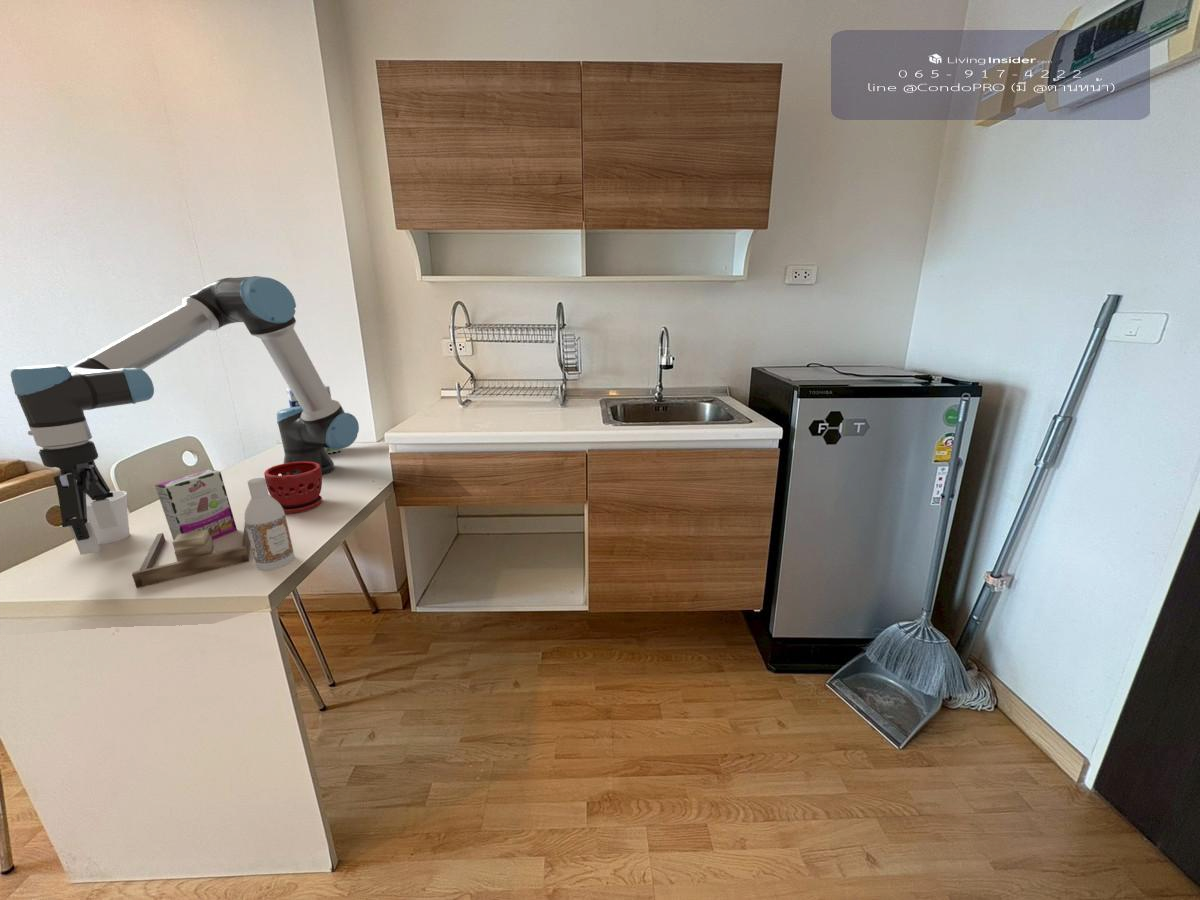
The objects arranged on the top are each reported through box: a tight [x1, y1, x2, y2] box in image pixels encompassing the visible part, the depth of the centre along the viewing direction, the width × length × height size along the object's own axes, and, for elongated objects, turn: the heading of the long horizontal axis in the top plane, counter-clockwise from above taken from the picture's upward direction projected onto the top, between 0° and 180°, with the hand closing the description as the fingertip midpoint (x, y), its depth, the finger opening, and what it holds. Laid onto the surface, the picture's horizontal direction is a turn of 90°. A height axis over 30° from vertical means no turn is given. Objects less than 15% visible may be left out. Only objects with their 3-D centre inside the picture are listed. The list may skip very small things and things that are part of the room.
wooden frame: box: [131, 523, 251, 589], centre depth 106 cm, size 18×24×4 cm
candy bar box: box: [154, 468, 238, 541], centre depth 110 cm, size 11×5×16 cm, turn 159°
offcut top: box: [171, 529, 210, 552], centre depth 100 cm, size 5×4×2 cm
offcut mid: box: [174, 536, 215, 561], centre depth 100 cm, size 6×5×2 cm
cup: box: [86, 490, 131, 545], centre depth 111 cm, size 10×10×11 cm
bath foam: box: [244, 477, 296, 572], centre depth 98 cm, size 7×7×20 cm
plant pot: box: [263, 462, 323, 515], centre depth 129 cm, size 13×13×12 cm
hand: (100, 539), depth 99 cm, fingers open, 13 cm apart
